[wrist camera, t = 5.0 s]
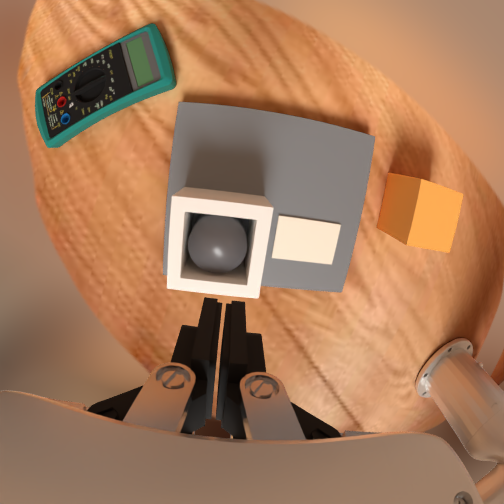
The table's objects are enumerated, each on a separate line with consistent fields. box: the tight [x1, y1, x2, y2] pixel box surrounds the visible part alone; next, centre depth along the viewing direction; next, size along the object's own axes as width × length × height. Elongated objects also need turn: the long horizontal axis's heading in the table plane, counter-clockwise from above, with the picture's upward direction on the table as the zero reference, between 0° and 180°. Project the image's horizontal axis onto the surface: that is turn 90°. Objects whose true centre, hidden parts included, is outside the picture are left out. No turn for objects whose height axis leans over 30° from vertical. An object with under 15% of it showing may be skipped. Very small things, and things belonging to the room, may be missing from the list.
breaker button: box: [188, 214, 247, 274], centre depth 23 cm, size 4×4×4 cm
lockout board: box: [163, 102, 375, 298], centre depth 23 cm, size 18×16×7 cm
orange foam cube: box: [377, 172, 464, 253], centre depth 24 cm, size 6×6×6 cm
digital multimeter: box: [35, 23, 176, 148], centre depth 20 cm, size 7×15×3 cm, turn 108°
